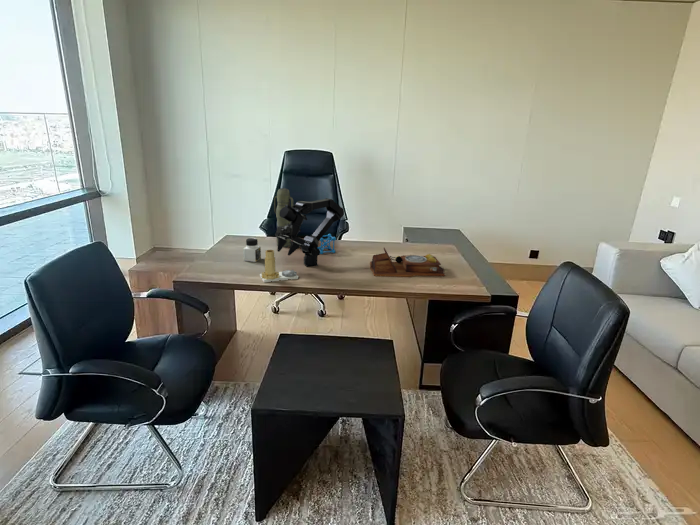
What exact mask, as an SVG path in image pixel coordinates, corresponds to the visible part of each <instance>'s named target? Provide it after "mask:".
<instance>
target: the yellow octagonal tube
mask: <svg viewBox="0 0 700 525" xmlns="http://www.w3.org/2000/svg"><path fill="white" fill-rule="evenodd" d="M279 272H280V271H276V257H275V250H273V249H267V250H265V257H264V271H262V272H261V273H260V274H261V275H262V278H265V279H267V280H268V279H272V280H273V279H275V278H279Z"/></svg>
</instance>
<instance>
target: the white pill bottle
mask: <svg viewBox="0 0 700 525" xmlns="http://www.w3.org/2000/svg"><path fill="white" fill-rule="evenodd" d="M258 244H259V243H258V239H257V238H255V237H248V238H247V239H246V241H245V247H243V261H244V262H252V263H253V262H254V263H256V262H258V261H259V260H261V258H262V249H261V248H262V247H261V246H259V245H258Z"/></svg>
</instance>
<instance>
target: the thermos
mask: <svg viewBox="0 0 700 525" xmlns="http://www.w3.org/2000/svg"><path fill="white" fill-rule="evenodd" d="M285 205H289V206H290V207H292V206H294V199H293V197H292V196H291V194H290V190H289V189H288V188H285V187H281V188H279V189H278V190H277V193H276V195H275V196H274V197H273V211H274V212H273V213H275V215H276V220H277V221H276V223H277V226H287V224H290V222H289V221H287V220H285V219H283V218H282V217H280V215H279V213H280V210H281V209H282V208H283V207H285ZM277 226H276V227H277ZM286 241H287V242H286V243H285V245H284V246H283V248H289V247H290V246H291V243H290V241H292V240H290V239H287V240H286ZM276 246H277V247H278V239H277V238H276ZM288 246H289V247H288Z"/></svg>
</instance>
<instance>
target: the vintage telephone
mask: <svg viewBox="0 0 700 525" xmlns="http://www.w3.org/2000/svg"><path fill="white" fill-rule="evenodd" d="M383 250H384V252H383V253H376V254H374V255H372V260H371V261H369V265H370V269H369V270H370V271H371V273H372V276H373V277H381V278H382V277H383V278H384V277H388V278H389V277H393V278H394V277H395V278H396V277H397V278H412V277H445V276H446V274H445V269H444V267H442V266H441V265H442V263H440V261H439V260H438V259H437V257H436V256H434V255H432V254H431V253H428V254H426V255H417V254H407V255H397V256H391V255H389V253H388V251H387V250H386V248H385V247H383ZM394 258H395V259H394Z"/></svg>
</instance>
